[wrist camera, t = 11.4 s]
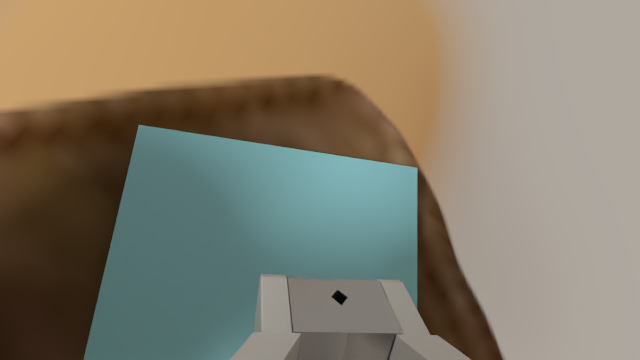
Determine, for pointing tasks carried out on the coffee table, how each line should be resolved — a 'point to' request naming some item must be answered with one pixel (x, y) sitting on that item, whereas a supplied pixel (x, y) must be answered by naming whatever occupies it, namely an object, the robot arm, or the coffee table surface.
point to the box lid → (239, 239)
